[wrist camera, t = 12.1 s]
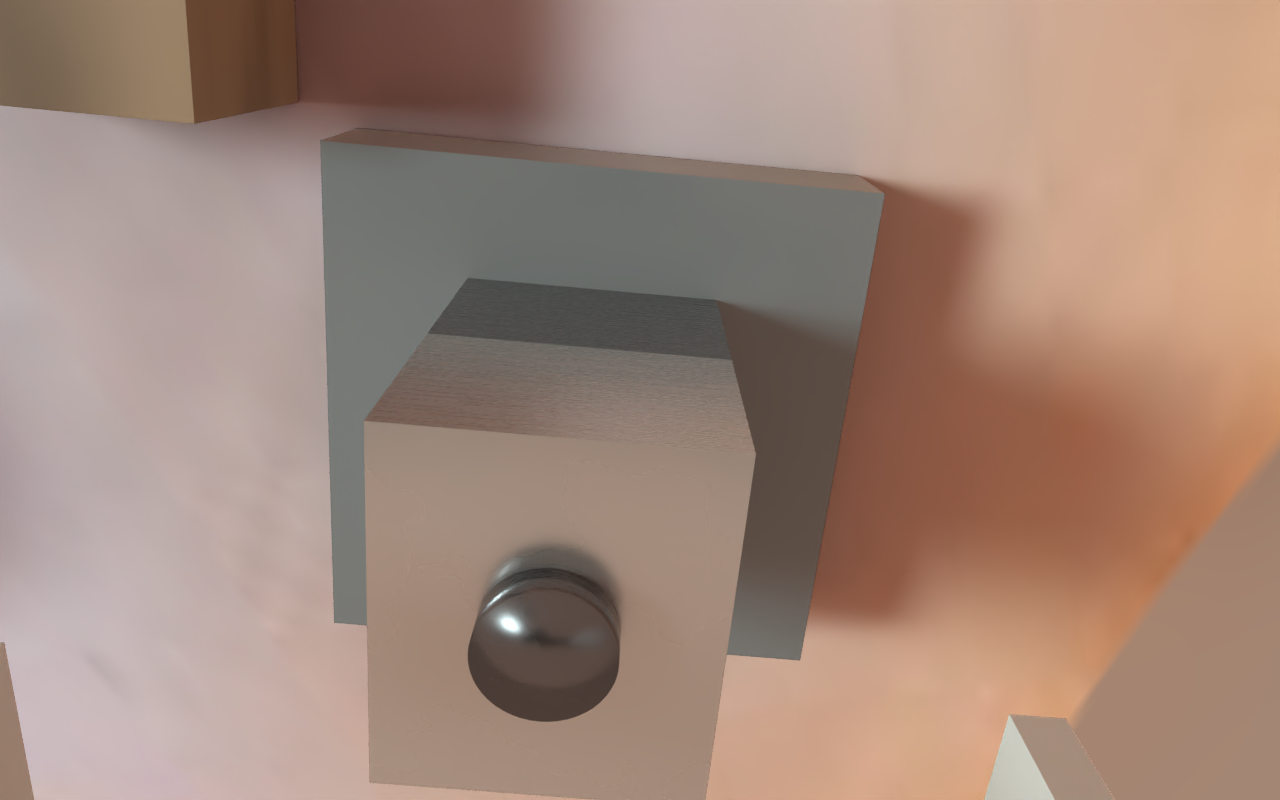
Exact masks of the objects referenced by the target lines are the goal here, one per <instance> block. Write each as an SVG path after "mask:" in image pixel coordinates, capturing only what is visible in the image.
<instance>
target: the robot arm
mask: <svg viewBox="0 0 1280 800" xmlns="http://www.w3.org/2000/svg"><path fill="white" fill-rule="evenodd" d="M0 800H34V796H33V791H32V786H31V781H30V775H29V770H28V765H27V760H26V754H25V749H24V744H23V739H22V733H21V728H20V723H19V717H18V712H17V707H16V702H15V696H14V691H13V686H12V681H11V675H10V670H9V665H8V660H7V654H6V649H5V644H4V642H0ZM984 800H1115V799H1114V797H1113V795H1112V794H1111V792H1110V790H1109V789H1108V787H1107V786H1106V784H1105V782H1104V781H1103V779H1102V777H1101V776H1100V774H1099V772H1098V771H1097V769H1096V768H1095V766H1094V764H1093V763H1092V761H1091V759H1090V758H1089V756H1088V754H1087V753H1086V751H1085V749H1084V748H1083V746H1082V744H1081V743H1080V741H1079V740H1078V738H1077V736H1076V735H1075V733H1074V731H1073V730H1072V728H1071V726H1070V725H1069V723H1068V721H1067V720H1066V718H1053V717H1039V716H1025V715H1011V714H1009V718H1008V721H1007V724H1006V728H1005V731H1004V735H1003V738H1002V741H1001V745H1000V748H999V752H998V755H997V758H996V762H995V765H994V769H993V772H992V775H991V779H990V782H989V786H988V789H987V792H986V796H985V799H984Z"/></svg>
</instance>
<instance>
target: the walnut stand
mask: <svg viewBox="0 0 1280 800" xmlns="http://www.w3.org/2000/svg"><path fill="white" fill-rule="evenodd" d="M297 102H298V80H297V52H296V24H295V0H0V105H2V106H12V107H23V108H33V109H44V110H55V111H65V112H76V113H86V114H97V115H108V116H118V117H129V118H139V119H150V120H161V121H171V122H182V123H193V124H195V123H200V122H205V121H210V120H215V119H219V118H224V117H229V116H234V115H239V114H244V113H248V112H253V111H258V110H263V109H268V108H273V107H277V106H282V105H287V104H292V103H297Z"/></svg>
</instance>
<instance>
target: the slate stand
mask: <svg viewBox="0 0 1280 800" xmlns="http://www.w3.org/2000/svg"><path fill="white" fill-rule="evenodd" d="M321 175H322V210H323V245H324V281H325V316H326V351H327V386H328V422H329V457H330V492H331V528H332V563H333V598H334V623H344V624H356V625H367V590H366V527H365V464H364V420H365V419H366V417H367V416H368V414H369V413H370V412H371V410H372V409H373V408H374V406H375V405H376V403H377V402H378V401H379V399H380V398H381V397H382V395H383V394H384V392H385V391H386V390H387V388H388V387H389V386H390V384H391V383H392V381H393V380H394V379H395V377H396V376H397V374H398V373H399V372H400V370H401V369H402V368H403V366H404V365H405V363H406V362H407V361H408V359H409V358H410V357H411V355H412V354H413V352H414V351H415V350H416V348H417V347H418V346H419V344H420V343H421V341H422V340H423V339H424V337H425V336H426V334H427V333H428V332H429V330H430V329H431V328H432V326H433V325H434V323H435V322H436V321H437V319H438V318H439V317H440V315H441V314H442V312H443V311H444V310H445V308H446V307H447V306H448V304H449V303H450V301H451V300H452V299H453V297H454V296H455V294H456V293H457V292H458V290H459V289H460V288H461V286H462V285H463V283H464V282H465V281H466V279H467V278H475V279H486V280H497V281H509V282H520V283H531V284H542V285H553V286H565V287H576V288H587V289H598V290H610V291H621V292H632V293H643V294H655V295H666V296H677V297H688V298H700V299H711V300H717V304H718V308H719V312H720V316H721V320H722V324H723V328H724V331H725V335H726V339H727V343H728V347H729V351H730V355H731V359H732V363H733V367H734V370H735V374H736V378H737V382H738V386H739V390H740V394H741V398H742V402H743V406H744V409H745V413H746V417H747V421H748V425H749V429H750V433H751V437H752V441H753V445H754V448H755V452H756V458H755V464H754V471H753V478H752V485H751V492H750V499H749V505H748V512H747V519H746V526H745V533H744V540H743V546H742V553H741V560H740V567H739V574H738V581H737V587H736V594H735V601H734V608H733V615H732V622H731V628H730V635H729V642H728V649H727V655H739V656H752V657H764V658H776V659H789V660H800V658H801V652H802V647H803V641H804V636H805V630H806V625H807V619H808V614H809V608H810V603H811V597H812V592H813V586H814V581H815V575H816V570H817V564H818V559H819V553H820V548H821V542H822V537H823V531H824V526H825V520H826V515H827V509H828V504H829V498H830V493H831V487H832V482H833V476H834V471H835V465H836V460H837V454H838V449H839V443H840V438H841V432H842V427H843V421H844V416H845V410H846V405H847V399H848V394H849V388H850V383H851V377H852V372H853V366H854V361H855V355H856V350H857V344H858V339H859V333H860V328H861V322H862V317H863V311H864V306H865V300H866V295H867V289H868V284H869V278H870V273H871V268H872V262H873V257H874V251H875V246H876V240H877V235H878V229H879V224H880V218H881V213H882V207H883V202H884V196H885V193H883V192H882V191H880V190H879V189H877V188H876V187H874V186H873V185H872V184H870V183H869V182H867V181H866V180H864V179H863V178H861V177H860V176H858V175H849V174H839V173H828V172H818V171H807V170H797V169H786V168H775V167H765V166H754V165H744V164H733V163H722V162H712V161H701V160H691V159H680V158H670V157H659V156H648V155H638V154H627V153H617V152H606V151H596V150H585V149H574V148H564V147H553V146H543V145H532V144H522V143H511V142H500V141H490V140H479V139H469V138H458V137H448V136H437V135H426V134H416V133H405V132H395V131H384V130H373V129H363V128H356V129H353V130H350V131H347V132H344V133H341V134H338V135H336V136H333V137H330V138H327V139H324V140H321Z"/></svg>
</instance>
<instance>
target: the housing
mask: <svg viewBox="0 0 1280 800" xmlns="http://www.w3.org/2000/svg"><path fill="white" fill-rule="evenodd" d="M755 458H756V452H755V448H754V445H753V441H752V437H751V433H750V429H749V425H748V421H747V417H746V413H745V409H744V406H743V402H742V398H741V394H740V390H739V386H738V382H737V378H736V374H735V370H734V367H733V363H732V359H731V355H730V351H729V347H728V343H727V339H726V335H725V331H724V328H723V324H722V320H721V316H720V312H719V308H718V304H717V300H711V299H700V298H688V297H677V296H666V295H655V294H643V293H632V292H621V291H610V290H598V289H587V288H576V287H565V286H553V285H542V284H531V283H520V282H509V281H497V280H486V279H475V278H467V279H466V281H465V282H464V283H463V285H462V286H461V288H460V289H459V290H458V292H457V293H456V294H455V296H454V297H453V299H452V300H451V301H450V303H449V304H448V306H447V307H446V308H445V310H444V311H443V312H442V314H441V315H440V317H439V318H438V319H437V321H436V322H435V323H434V325H433V326H432V328H431V329H430V330H429V332H428V333H427V334H426V336H425V337H424V339H423V340H422V341H421V343H420V344H419V346H418V347H417V348H416V350H415V351H414V352H413V354H412V355H411V357H410V358H409V359H408V361H407V362H406V363H405V365H404V366H403V368H402V369H401V370H400V372H399V373H398V374H397V376H396V377H395V379H394V380H393V381H392V383H391V384H390V386H389V387H388V388H387V390H386V391H385V392H384V394H383V395H382V397H381V398H380V399H379V401H378V402H377V403H376V405H375V406H374V408H373V409H372V410H371V412H370V413H369V414H368V416H367V417H366V419H365V420H364V464H365V527H366V590H367V654H368V717H369V781H370V783H381V784H394V785H408V786H421V787H434V788H447V789H461V790H474V791H487V792H501V793H514V794H527V795H540V796H554V797H567V798H580V799H593V800H705V799H706V793H707V786H708V779H709V772H710V765H711V758H712V751H713V745H714V738H715V731H716V724H717V717H718V710H719V704H720V697H721V690H722V683H723V676H724V669H725V663H726V656H727V649H728V642H729V635H730V628H731V622H732V615H733V608H734V601H735V594H736V587H737V581H738V574H739V567H740V560H741V553H742V546H743V540H744V533H745V526H746V519H747V512H748V505H749V499H750V492H751V485H752V478H753V471H754V464H755Z"/></svg>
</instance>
